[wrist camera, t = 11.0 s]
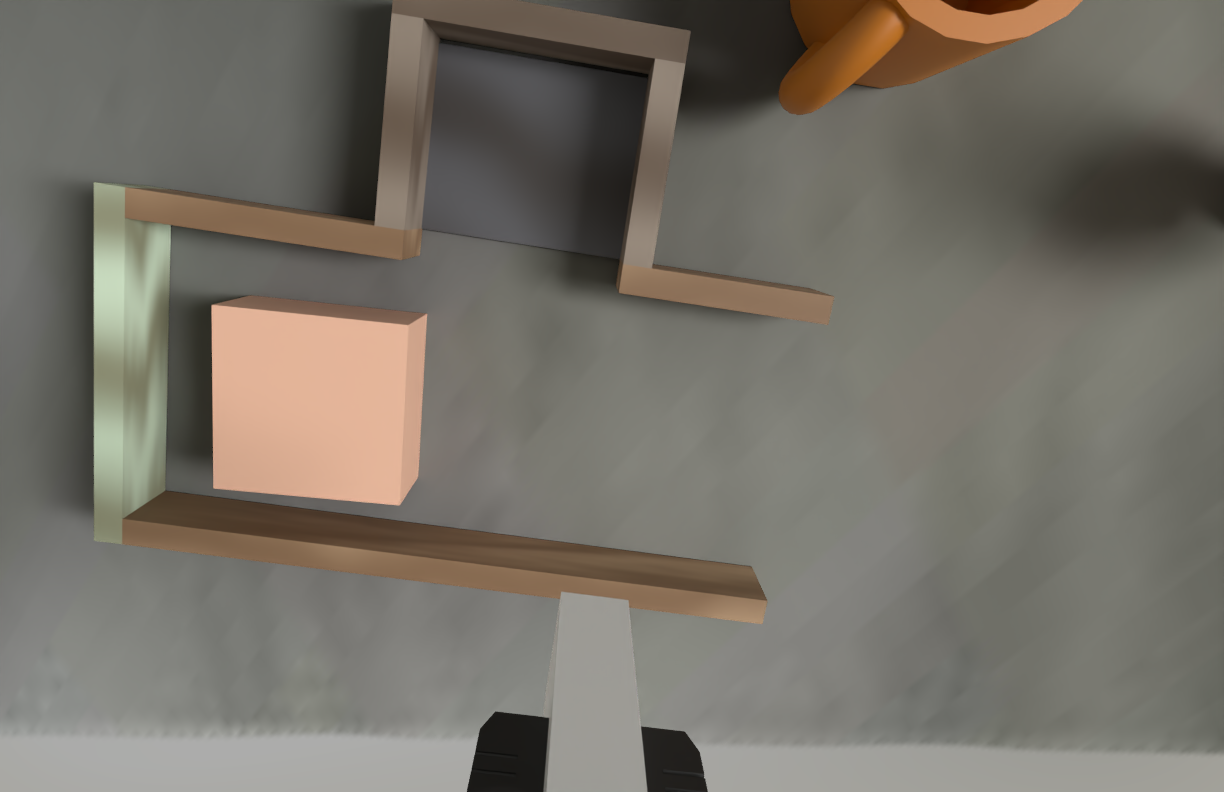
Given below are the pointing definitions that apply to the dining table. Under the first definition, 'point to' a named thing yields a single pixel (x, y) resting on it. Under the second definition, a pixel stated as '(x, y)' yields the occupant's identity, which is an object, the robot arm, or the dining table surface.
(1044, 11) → the mug
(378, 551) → the wooden tray frame
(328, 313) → the block
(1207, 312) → the dining table surface
